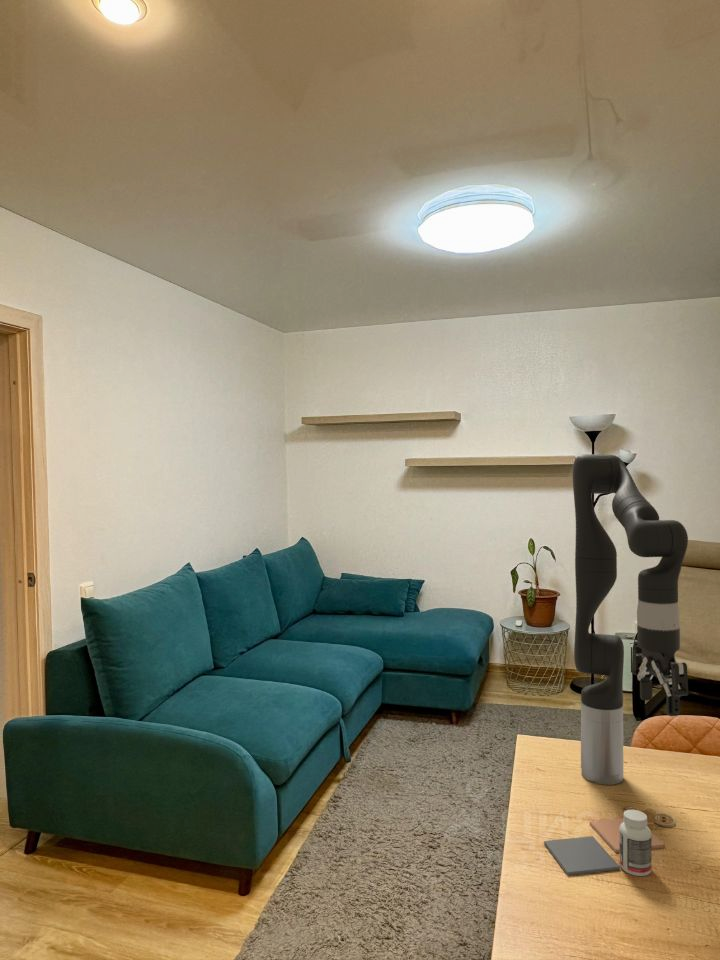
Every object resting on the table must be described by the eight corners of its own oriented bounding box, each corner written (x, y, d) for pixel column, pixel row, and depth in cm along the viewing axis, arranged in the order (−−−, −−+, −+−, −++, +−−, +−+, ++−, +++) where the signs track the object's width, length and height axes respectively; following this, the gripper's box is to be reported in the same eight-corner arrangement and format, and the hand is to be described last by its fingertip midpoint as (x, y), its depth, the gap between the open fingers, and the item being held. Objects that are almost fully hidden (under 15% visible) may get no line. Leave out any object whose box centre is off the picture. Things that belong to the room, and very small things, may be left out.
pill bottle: (657, 870, 120) (657, 816, 120) (639, 881, 117) (639, 826, 117) (631, 856, 125) (630, 804, 124) (613, 865, 122) (612, 812, 121)
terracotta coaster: (589, 824, 136) (589, 821, 136) (635, 819, 137) (635, 817, 137) (615, 852, 126) (615, 849, 126) (664, 847, 127) (664, 844, 127)
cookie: (623, 801, 143) (675, 810, 139) (623, 806, 143) (675, 815, 139) (622, 820, 136) (676, 830, 132) (622, 825, 136) (676, 835, 132)
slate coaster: (544, 844, 129) (544, 841, 129) (592, 839, 130) (592, 836, 130) (567, 875, 119) (567, 872, 119) (619, 869, 120) (619, 866, 120)
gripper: (700, 631, 122) (701, 719, 122) (653, 614, 136) (654, 693, 137) (663, 634, 121) (663, 722, 121) (619, 616, 135) (620, 696, 135)
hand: (659, 707), depth 129 cm, fingers open, 8 cm apart
